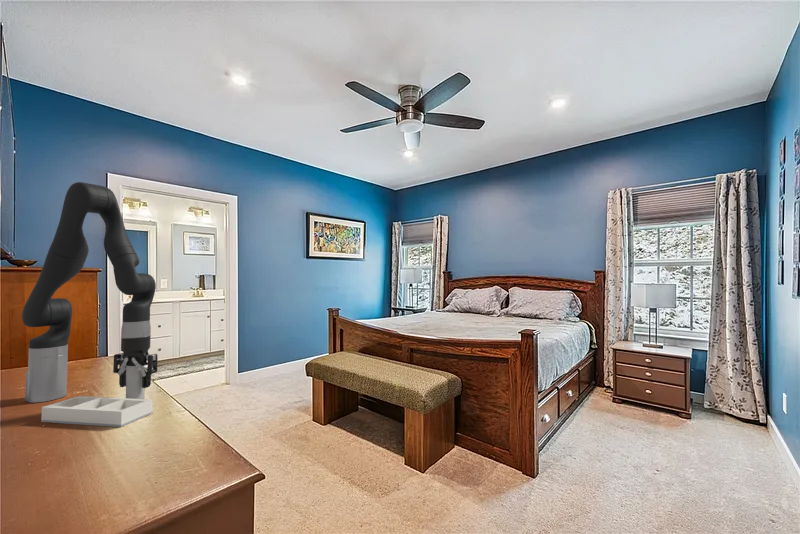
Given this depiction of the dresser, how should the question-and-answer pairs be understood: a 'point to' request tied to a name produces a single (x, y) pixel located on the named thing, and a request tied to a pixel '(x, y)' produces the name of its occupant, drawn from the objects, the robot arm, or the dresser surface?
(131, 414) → the can caddy
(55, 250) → the robot arm
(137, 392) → the beverage can
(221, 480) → the dresser surface
